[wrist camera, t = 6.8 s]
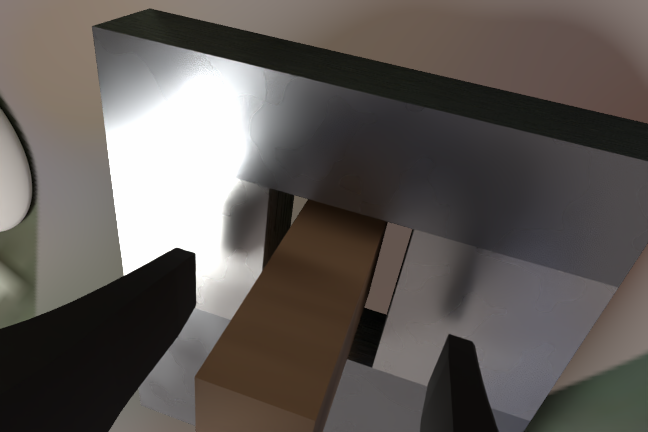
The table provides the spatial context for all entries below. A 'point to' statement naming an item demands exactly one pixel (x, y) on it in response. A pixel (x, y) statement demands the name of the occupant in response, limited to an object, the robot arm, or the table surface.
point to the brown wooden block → (292, 328)
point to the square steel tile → (370, 205)
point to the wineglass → (13, 177)
